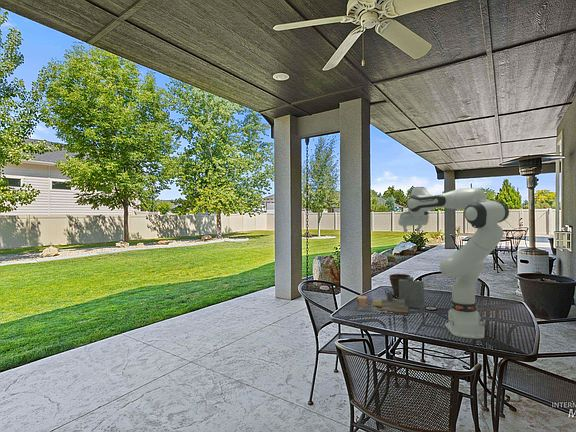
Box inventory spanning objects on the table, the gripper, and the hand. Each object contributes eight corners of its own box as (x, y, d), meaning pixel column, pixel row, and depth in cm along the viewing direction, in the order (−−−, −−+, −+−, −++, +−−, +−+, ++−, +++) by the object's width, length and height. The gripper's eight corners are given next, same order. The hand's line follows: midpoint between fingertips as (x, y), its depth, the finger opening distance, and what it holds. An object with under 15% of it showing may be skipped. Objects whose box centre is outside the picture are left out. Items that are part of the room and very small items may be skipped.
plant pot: (388, 298, 230) (387, 277, 230) (392, 293, 244) (391, 273, 243) (410, 300, 223) (409, 278, 223) (412, 295, 237) (411, 274, 236)
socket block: (366, 307, 207) (365, 298, 207) (357, 307, 209) (357, 298, 209) (367, 304, 213) (367, 296, 213) (359, 304, 215) (359, 295, 215)
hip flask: (425, 307, 207) (423, 277, 206) (424, 309, 203) (422, 278, 203) (400, 304, 215) (399, 275, 215) (398, 306, 212) (397, 276, 212)
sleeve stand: (408, 314, 193) (407, 304, 193) (356, 310, 205) (355, 300, 205) (408, 308, 206) (408, 298, 206) (359, 304, 218) (359, 295, 218)
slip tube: (398, 307, 201) (397, 293, 200) (372, 305, 207) (371, 292, 207) (398, 306, 203) (397, 292, 203) (373, 304, 210) (372, 290, 210)
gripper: (404, 213, 195) (400, 233, 199) (431, 212, 201) (427, 232, 205) (398, 210, 201) (394, 230, 205) (425, 209, 206) (421, 229, 211)
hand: (411, 231), depth 205 cm, fingers open, 8 cm apart
